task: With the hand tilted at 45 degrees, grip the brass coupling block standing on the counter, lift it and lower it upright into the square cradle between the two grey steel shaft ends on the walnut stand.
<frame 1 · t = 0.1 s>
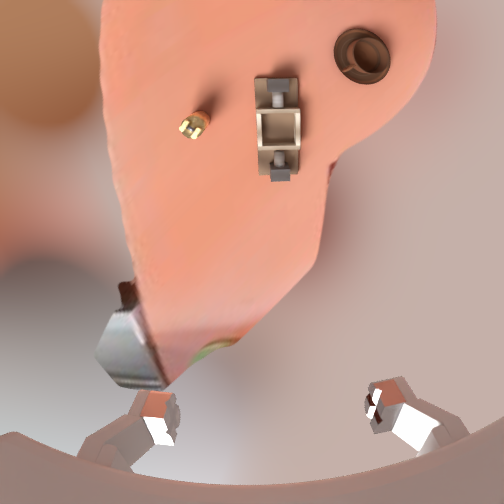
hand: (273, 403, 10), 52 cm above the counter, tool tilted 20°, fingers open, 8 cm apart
cup and saucer: (359, 56, 43), on the counter
shaft stand: (277, 126, 52), on the counter
coupling: (199, 120, 51), on the counter
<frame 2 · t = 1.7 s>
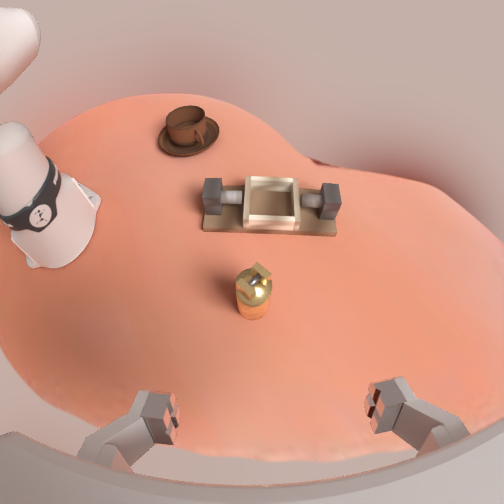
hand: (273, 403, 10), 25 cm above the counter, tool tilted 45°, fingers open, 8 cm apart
cup and saucer: (189, 140, 53), on the counter
shaft stand: (270, 211, 45), on the counter
coupling: (252, 305, 38), on the counter
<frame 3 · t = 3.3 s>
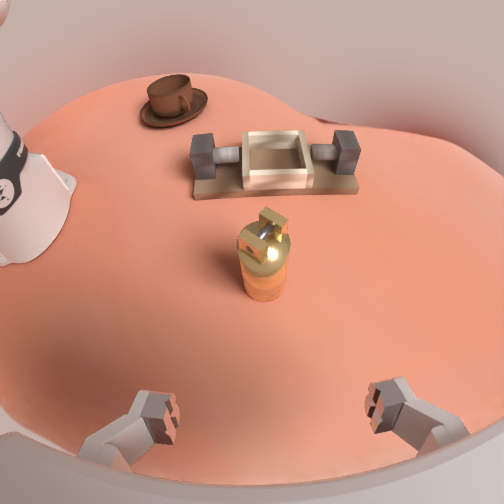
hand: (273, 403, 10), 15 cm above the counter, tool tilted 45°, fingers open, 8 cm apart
cup and saucer: (175, 113, 45), on the counter
shaft stand: (275, 172, 36), on the counter
coupling: (264, 283, 29), on the counter
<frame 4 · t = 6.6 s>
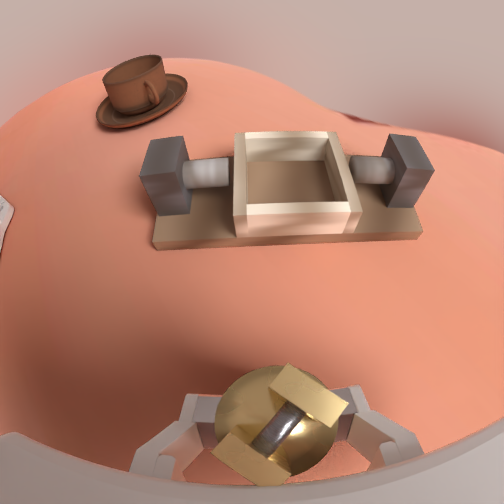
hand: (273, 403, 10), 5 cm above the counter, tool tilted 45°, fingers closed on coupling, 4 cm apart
cup and saucer: (144, 108, 31), on the counter
shaft stand: (289, 199, 22), on the counter
coupling: (271, 410, 15), on the counter, touching gripper
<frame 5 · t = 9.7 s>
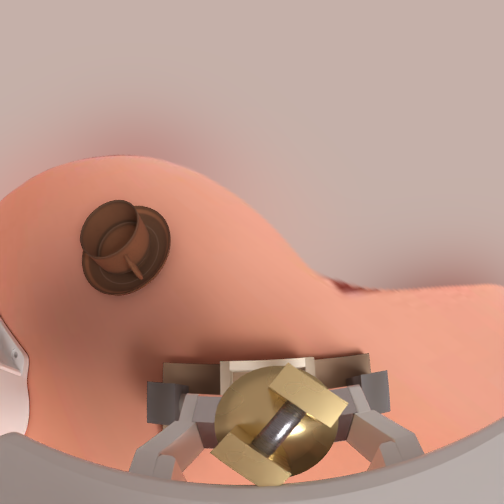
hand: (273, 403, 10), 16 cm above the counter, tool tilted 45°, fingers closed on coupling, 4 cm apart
cup and saucer: (129, 255, 33), on the counter
shaft stand: (268, 404, 24), on the counter
coupling: (271, 410, 15), point 11 cm above the counter, touching gripper
when the fingers open (8 cm above the counter, at t = 11.8 s): coupling drops 1 cm, resting on shaft stand.
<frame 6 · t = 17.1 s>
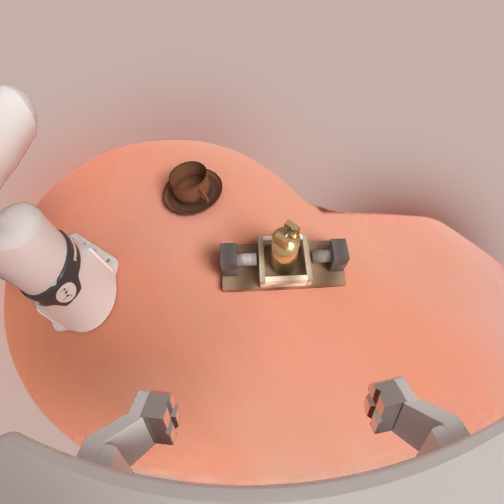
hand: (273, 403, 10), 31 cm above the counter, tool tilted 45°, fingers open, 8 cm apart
cup and saucer: (194, 196, 57), on the counter
shaft stand: (283, 267, 48), on the counter
coupling: (283, 264, 47), point 1 cm above the counter, touching shaft stand
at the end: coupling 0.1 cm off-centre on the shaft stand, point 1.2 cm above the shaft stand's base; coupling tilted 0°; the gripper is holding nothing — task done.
